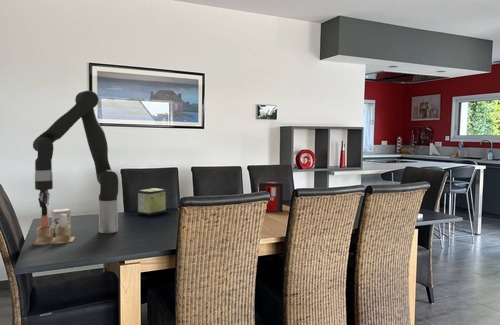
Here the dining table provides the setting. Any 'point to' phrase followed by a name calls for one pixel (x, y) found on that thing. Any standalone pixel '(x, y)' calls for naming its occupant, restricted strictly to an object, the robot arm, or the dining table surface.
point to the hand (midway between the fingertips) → (44, 215)
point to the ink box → (56, 217)
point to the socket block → (61, 235)
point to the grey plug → (63, 220)
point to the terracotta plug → (44, 222)
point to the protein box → (151, 201)
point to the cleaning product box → (273, 195)
